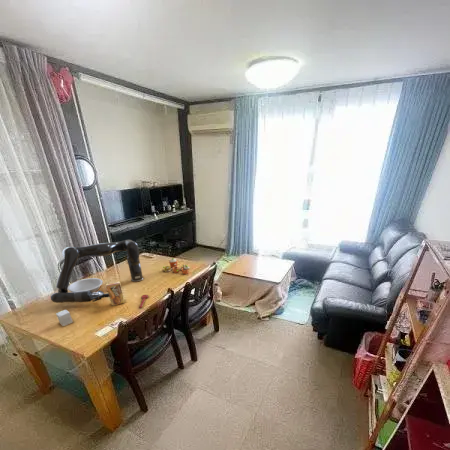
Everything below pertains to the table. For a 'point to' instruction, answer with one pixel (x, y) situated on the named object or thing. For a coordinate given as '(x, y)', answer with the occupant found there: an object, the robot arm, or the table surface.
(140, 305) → the spoon
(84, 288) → the soup bowl
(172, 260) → the toy tea set
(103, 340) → the table surface
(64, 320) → the grey cube
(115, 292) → the candy box
